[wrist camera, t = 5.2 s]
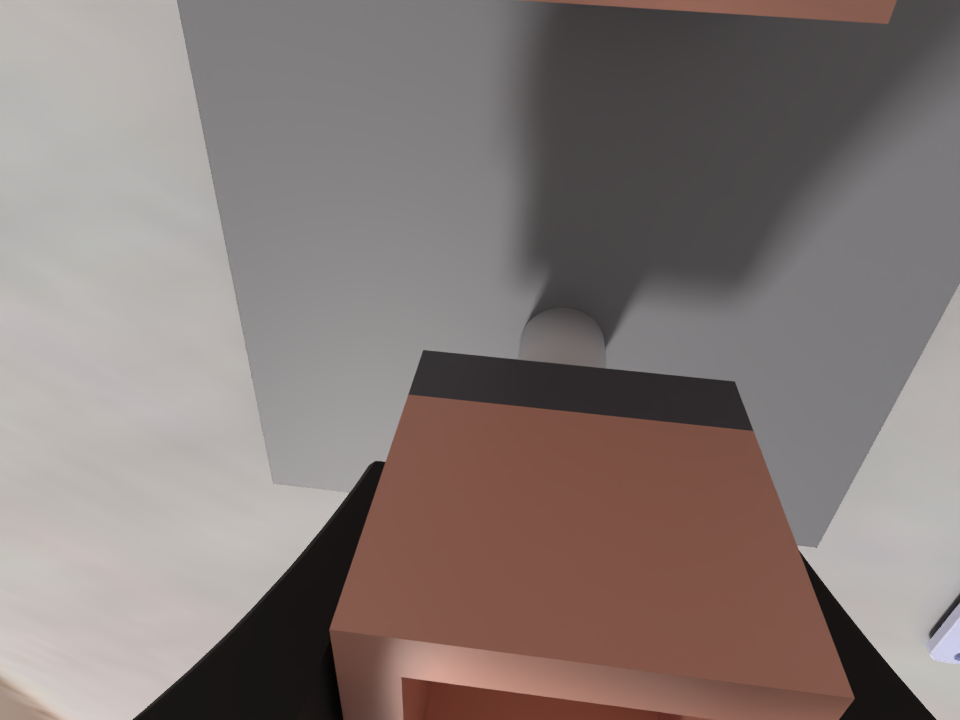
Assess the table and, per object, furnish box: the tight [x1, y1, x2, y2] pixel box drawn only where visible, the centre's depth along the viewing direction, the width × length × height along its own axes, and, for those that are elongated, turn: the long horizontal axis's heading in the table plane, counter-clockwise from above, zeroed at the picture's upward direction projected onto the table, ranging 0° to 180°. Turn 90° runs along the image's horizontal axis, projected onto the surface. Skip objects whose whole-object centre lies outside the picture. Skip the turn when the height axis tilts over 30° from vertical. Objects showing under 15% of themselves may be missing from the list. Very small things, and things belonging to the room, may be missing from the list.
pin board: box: [177, 0, 960, 548], centre depth 11 cm, size 16×22×5 cm
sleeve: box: [329, 350, 855, 720], centre depth 9 cm, size 5×5×5 cm
